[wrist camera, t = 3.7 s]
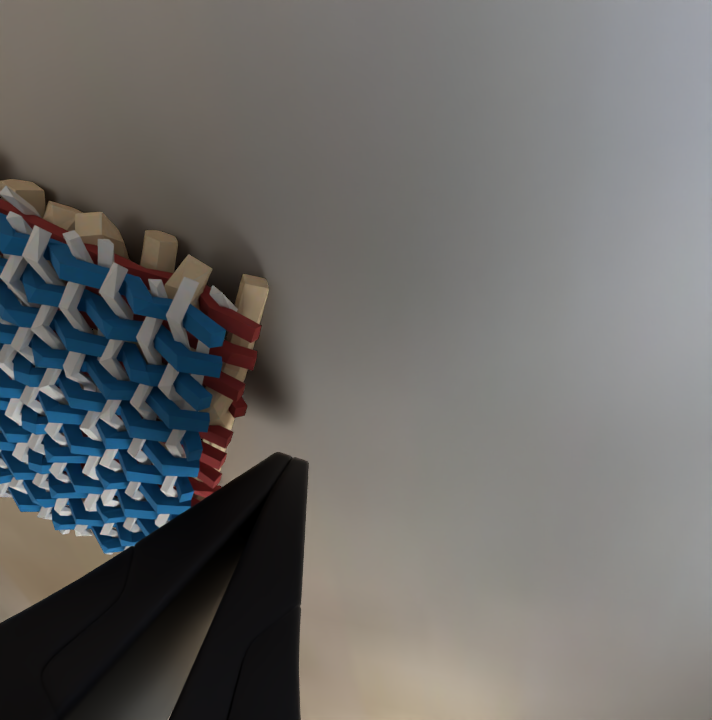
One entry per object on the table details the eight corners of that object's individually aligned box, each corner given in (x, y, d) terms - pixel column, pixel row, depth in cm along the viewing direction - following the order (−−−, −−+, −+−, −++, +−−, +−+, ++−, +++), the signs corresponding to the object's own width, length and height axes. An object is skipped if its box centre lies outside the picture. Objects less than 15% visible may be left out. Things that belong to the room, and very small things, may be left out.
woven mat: (217, 543, 12) (179, 601, 11) (-39, 419, 12) (-119, 457, 11) (297, 287, 7) (251, 316, 6) (-133, 86, 7) (-312, 52, 6)
